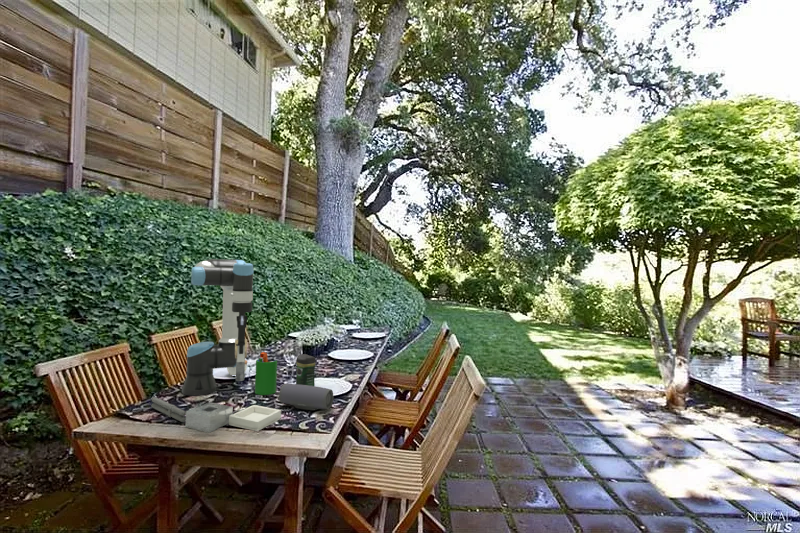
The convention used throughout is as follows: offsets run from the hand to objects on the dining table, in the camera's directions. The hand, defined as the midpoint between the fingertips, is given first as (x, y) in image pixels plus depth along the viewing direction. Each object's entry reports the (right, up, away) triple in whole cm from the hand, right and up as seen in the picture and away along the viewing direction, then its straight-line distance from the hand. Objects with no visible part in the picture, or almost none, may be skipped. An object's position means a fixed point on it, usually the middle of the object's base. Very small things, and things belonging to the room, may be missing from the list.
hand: (240, 360), depth 163 cm
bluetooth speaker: (+22, -26, +19) cm, 39 cm away
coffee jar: (+16, -25, +41) cm, 51 cm away
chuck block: (-12, -25, -2) cm, 27 cm away
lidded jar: (-28, -24, +66) cm, 75 cm away
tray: (+5, -25, +2) cm, 26 cm away
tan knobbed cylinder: (0, -8, 0) cm, 8 cm away
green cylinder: (-3, -25, +39) cm, 46 cm away
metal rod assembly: (-32, -24, +6) cm, 41 cm away
